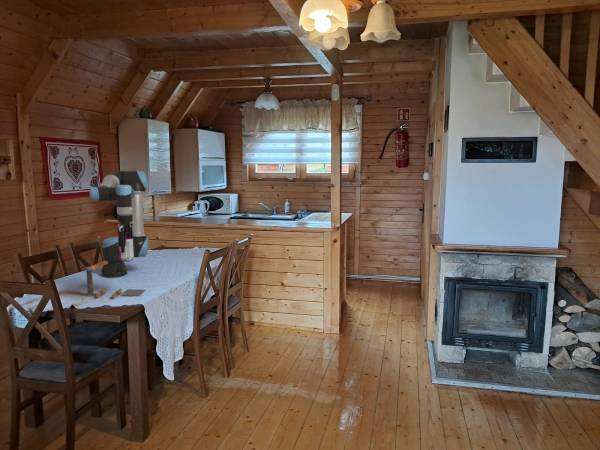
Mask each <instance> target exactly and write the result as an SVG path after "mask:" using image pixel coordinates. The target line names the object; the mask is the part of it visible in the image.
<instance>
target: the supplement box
mask: <svg viewBox="0 0 600 450" xmlns="http://www.w3.org/2000/svg"><path fill="white" fill-rule="evenodd" d="M125 246H126V250H127V258H126V259H123V258H121V247H119V259H120V262H124V263H125V262H127V263H128V262H129V263H130V262H131V261H133V260H134V259H135V257H134V252H133V239H126V245H125Z"/></svg>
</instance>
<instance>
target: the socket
mask: <svg viewBox="0 0 600 450" xmlns="http://www.w3.org/2000/svg"><path fill="white" fill-rule="evenodd" d="M93 282H94V281H93V270H92V271H86V284H87V285H86V286H87V287H86V288H87V296H88V297H95V298H98V299H100V298H101V297H103V296H104V295H105V294H107V288H104V287H103V288H102V289H101V290H99V291H98V292H94V283H93ZM122 290H123V289H122V288H118V289H117V290H116V291H114V292H113V293H112V294H111V298H112V299H111V300H115V299H116V298H118V297H119V296H120V295H121V294H122V293H123V292H122ZM103 294H104V295H103ZM118 295H119V296H118ZM100 296H101V297H100ZM99 297H100V298H99ZM114 298H115V299H114Z"/></svg>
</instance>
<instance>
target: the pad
mask: <svg viewBox="0 0 600 450" xmlns="http://www.w3.org/2000/svg"><path fill="white" fill-rule="evenodd" d="M144 291H145V292H146V289H132V288H131V289H129V288H128V289H126V290H124V291H123V292H122V293H121V294H120V295H119V296H120V297H132V296H139V297H140V296H141V295H143V293H145V292H144Z"/></svg>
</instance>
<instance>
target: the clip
mask: <svg viewBox="0 0 600 450" xmlns="http://www.w3.org/2000/svg"><path fill="white" fill-rule="evenodd" d="M106 264H108V261H104V260H102V261H101V262H98V263H95V264H93V265H91V266H85V272H87V271H92V272H93V270H96V269H99V268H102V267H103V265H106Z"/></svg>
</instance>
